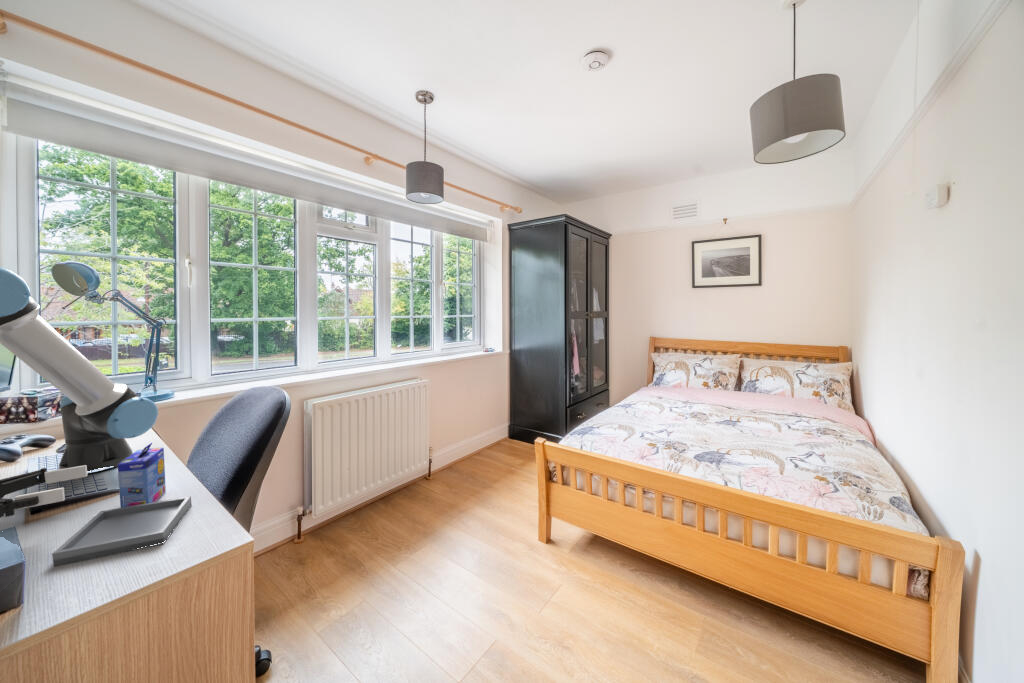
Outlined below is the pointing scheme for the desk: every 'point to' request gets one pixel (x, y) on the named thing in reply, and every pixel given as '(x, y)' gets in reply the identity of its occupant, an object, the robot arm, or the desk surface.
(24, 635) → the desk surface
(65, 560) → the dock tray
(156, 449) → the ink cartridge box
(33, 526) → the desk surface
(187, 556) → the desk surface
